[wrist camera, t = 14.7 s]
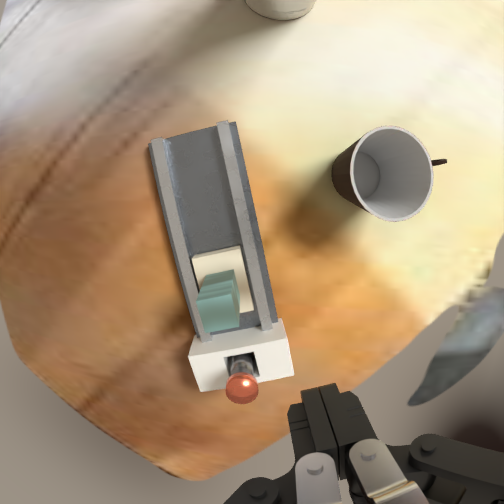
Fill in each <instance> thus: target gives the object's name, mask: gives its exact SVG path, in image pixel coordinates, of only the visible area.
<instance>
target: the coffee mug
mask: <svg viewBox="0 0 504 504" xmlns="http://www.w3.org/2000/svg"><path fill="white" fill-rule="evenodd" d="M445 163H447V159H439V160H432V161H431V159H430V156H429V154H428V152H427V150H426V148H425V147H424V145H423V144H422V142H421V141H420V140H419V139H418V138H417V137H416V136H415V135H413V134H412V133H410V132H409V131H407V130H405V129H403V128H400V127H396V126H381V127H378V128H375V129H373V130H371V131H369V132H368V133H366V134H365V135H364V136H363V137H361V138H360V139H359V140H357V141H356V142H355V143H354V144H352V145H351V146H350V147H349V148H347V149H346V150H345V151H344V152H342V153H341V154H340V155H339V156H338V157H337V159H336V160H335V162H334V164H333V168H332V181H333V184H334V187H335V188H336V190H337V192H338V193H339V194H340V195H341V196H342V197H344V198H345V199H347V200H348V201H350V202H352V203H354V204H355V205H357V206H359V207H360V208H362V209H364V210H366V211H367V212H369V213H371V214H372V215H374V216H376V217H378V218H379V219H382V220H386V221H393V222H397V221H403V220H406V219H409V218H411V217H413V216H414V215H416V214H417V213H418V212H419V211H420V210H421V209H422V208H423V207H424V206H425V204H426V202H427V201H428V199H429V197H430V194H431V191H432V186H433V166H436V165H441V164H445Z"/></svg>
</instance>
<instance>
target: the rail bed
mask: <svg viewBox="0 0 504 504" xmlns="http://www.w3.org/2000/svg"><path fill="white" fill-rule="evenodd" d="M148 145H149V151H150V155H151V160H152V165H153V170H154V175H155V179H156V184H157V188H158V193H159V197H160V202H161V206H162V210H163V215H164V219H165V223H166V227H167V231H168V235H169V239H170V243H171V247H172V251H173V255H174V258H175V262H176V266H177V270H178V273H179V277H180V281H181V284H182V288H183V291H184V295H185V298H186V302H187V305H188V309H189V312H190V315H191V319H192V322H193V325H194V329H195V332H196V335H197V338H199V337H200V338H201V341H202V343H204V342H210V341H212V338H213V335H216V334H222V333H227V332H232V331H237V330H243V329H248V328H253V327H257V326H262V331H267V330H271V329H273V327H272V323H276V322H278V318H277V313H276V308H275V303H274V298H273V294H272V289H271V284H270V279H269V274H268V270H267V265H266V260H265V255H264V250H263V246H262V241H261V236H260V232H259V227H258V222H257V217H256V213H255V208H254V203H253V199H252V194H251V190H250V185H249V180H248V176H247V171H246V167H245V162H244V157H243V153H242V148H241V144H240V139H239V135H238V130H237V126H236V122H231V123H228V120H227V121H222V122H218V123H217V126H213V127H209V128H205V129H201V130H197V131H193V132H189V133H185V134H181V135H177V136H174V137H170V138H166V139H164V138H162V137H159V138H156V139H153V140H151V143H149V144H148ZM238 245H240V247H241V252H242V256H243V261H244V265H245V269H246V274H247V278H248V283H249V287H250V291H251V296H252V300H253V306H254V310H253V311H248V312H243V313H240V316H239V327H235V328H230V329H225V330H220V331H214V332H209V333H205V331H204V328H203V324H202V321H201V318H200V314H199V311H198V307H197V304H196V299H197V297H198V294H199V292H200V289H199V285H198V282H197V278H196V274H195V270H194V266H193V263H192V258H193V256H194V255H197V254H202V253H206V252H211V251H215V250H220V249H225V248H229V247H234V246H238ZM252 353H254V352H252ZM230 357H232V356H230Z"/></svg>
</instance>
